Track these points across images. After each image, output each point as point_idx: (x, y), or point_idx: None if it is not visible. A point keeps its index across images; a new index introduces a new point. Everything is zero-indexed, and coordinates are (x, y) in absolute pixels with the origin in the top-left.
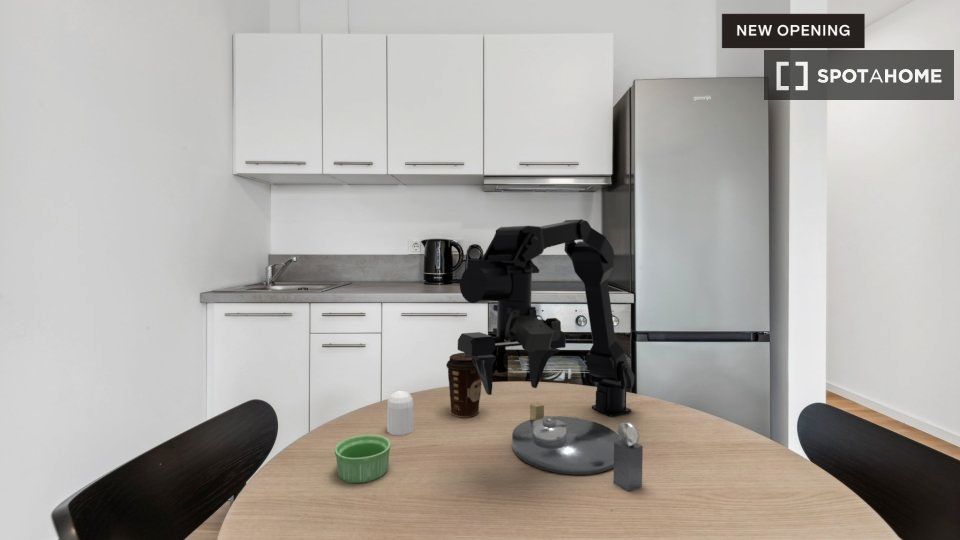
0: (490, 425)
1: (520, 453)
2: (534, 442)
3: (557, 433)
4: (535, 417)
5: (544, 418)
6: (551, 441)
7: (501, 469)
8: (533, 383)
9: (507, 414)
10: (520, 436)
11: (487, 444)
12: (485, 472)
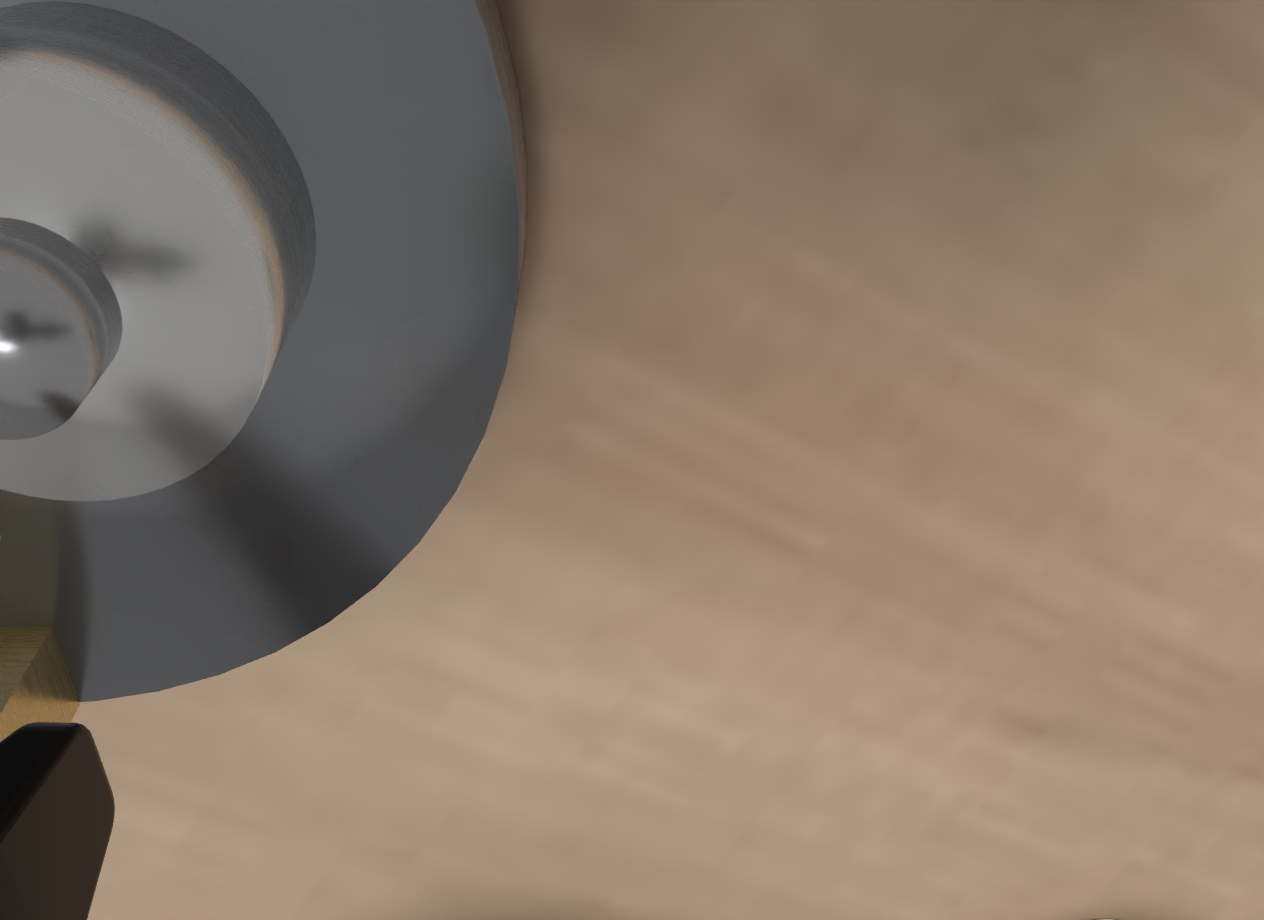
0: (422, 815)
1: (523, 217)
2: (313, 250)
3: (13, 57)
4: (30, 673)
5: (61, 381)
6: (148, 59)
7: (819, 115)
8: (58, 843)
9: (179, 907)
10: (376, 451)
11: (640, 570)
12: (992, 142)
